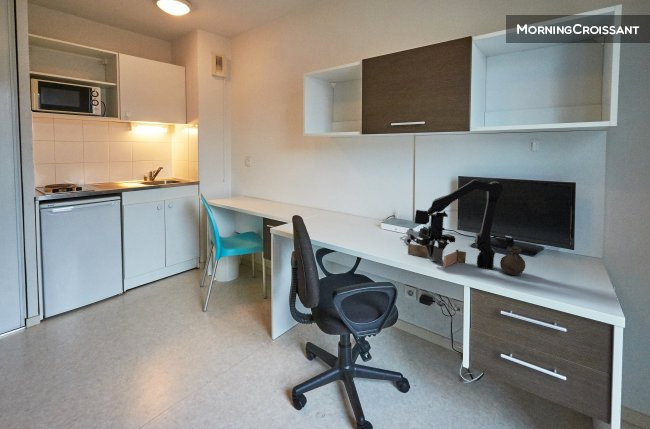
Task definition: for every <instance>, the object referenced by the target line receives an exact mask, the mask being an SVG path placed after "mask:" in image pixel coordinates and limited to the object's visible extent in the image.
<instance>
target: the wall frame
mask: <svg viewBox="0 0 650 429" xmlns="http://www.w3.org/2000/svg"><path fill="white" fill-rule="evenodd" d="M407 246H408V247H407V255H410V256H411V255H412V256H417V257H421V258H423V257H424V258H427V247H426V246H422V245H420V244H415V243H410V244H408V245H407ZM455 252H457V262H456V263H459V264H466V258H467V252H466V251H461V250H459V249H455Z"/></svg>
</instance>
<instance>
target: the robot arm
mask: <svg viewBox="0 0 650 429" xmlns="http://www.w3.org/2000/svg"><path fill="white" fill-rule="evenodd" d="M474 190H480V191H483V192H486V204H485V210H484V213H483V214H484V215H483V220H482V225H481V228H480V231H479V232H475V239H474V244H475V246H476V248H477V250H478V251H479V253H478V255H477V256H476V257H477V258H476V265H477V266H476V267H477V268H481V269H487V270H493V269H494V266H495V265H494V263H495V255H496V252H495V249H494V248H493V247H492V245H491V244H492V243H491V242H492V239H491V238H492V237H491V231H492V228H493V222H494V218H495V212H496V210H497V209H496V208H497V203H498V201H499V200H500V198H501V196H502V193H503V191H504V187H503V185H502V184H501V183H500V182H498V181H490V182H487V181H485V180H484V181H482V180H478V179H471V180H470V182H468V183H466V184H464V185H463V186H461V187H459V188H457V189H455V190H454V191H453V192H452V191H451V192H450V193H449V194H447V195H443V196H440V197H437V198H435V199H433V201H432V202H431V206H430V207H429V208H428V209H427V210H422V209H421V210H420V209H416V210H415V216H414V224H415V225H427V224H429V223H430V225H429V226H428V227H427V228H428V229H426V228H425V227H422V228H419V233H420V235H423V236H420V237H417V238H416V239H415V240H416V242H417V243H419V244H418V245H420V244H421V245H426V247H427V250H428V253H429V256H430V257H432V254H433V249H434V246H435V245H433V244H432V242H434V241H435V242H437V247H439V248H442V249H443V251H444V250H445V249H446V248H447V246H448V245H450V243H455V242H456V237H455V235H452V234H449V233H446V234H445V233H444V234H443V231H445V229H446V228H444V218H448V216H449V215H448V214H447V212H446V210H445V209H446V208H447V207H449V205H451V204H452V203H453V202H455V201H457V200H458V199H460V198H462V197H464V196H465V195H467V194H468V193H470V192H472V191H474ZM425 236H427V237H430V238H427V237H425ZM433 239H434V240H433ZM416 242H415V243H416ZM417 243H416V244H417Z"/></svg>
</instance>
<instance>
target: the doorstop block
mask: <svg viewBox="0 0 650 429" xmlns="http://www.w3.org/2000/svg"><path fill="white" fill-rule="evenodd" d="M443 253H444V250H443V249H442V248H439V247H438V245H437V246H436V245H434V249H433V254H432V257H430V256H429V253H428V250H427V257H426V258H427V259H430V260H432V261H433V262H435V261H436V262H437V261H443V258H444V257H443V256H444V254H443Z"/></svg>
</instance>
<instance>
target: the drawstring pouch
mask: <svg viewBox="0 0 650 429" xmlns="http://www.w3.org/2000/svg"><path fill="white" fill-rule="evenodd" d="M506 249H507V251H508V253H507V254H506V255H504V256H503V257H501V259H500V263H499V265H500V268H501V270H502V271H503V272H504V273H505V274H507V275H509V276H519V275H520V274H523V272H524V271H525V269H526V260H525V259H524V258H523V257H522V256H521V254H520V253H522V251H523V248H521V247H519V246H517V245H514V246H509V245H506Z"/></svg>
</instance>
